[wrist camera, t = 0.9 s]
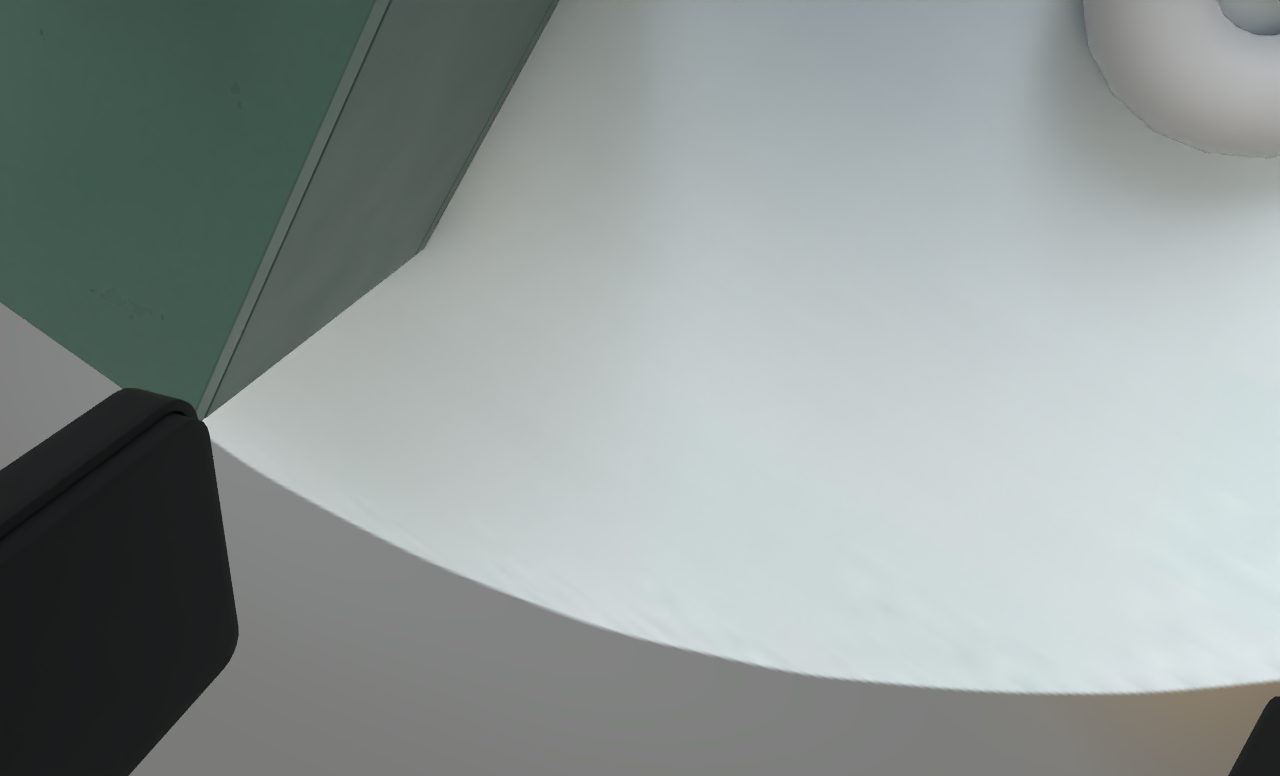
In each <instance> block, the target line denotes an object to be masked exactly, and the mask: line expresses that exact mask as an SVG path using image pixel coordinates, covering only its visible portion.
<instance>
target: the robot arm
mask: <svg viewBox="0 0 1280 776" xmlns="http://www.w3.org/2000/svg"><path fill="white" fill-rule="evenodd" d="M238 635H239V634H238V621H237V615H236V608H235V601H234V595H233V588H232V582H231V575H230V568H229V562H228V555H227V548H226V542H225V535H224V528H223V522H222V515H221V509H220V501H219V495H218V488H217V482H216V475H215V469H214V461H213V456H212V448H211V441H210V435H209V432H208V428H207V426H206V425H205V424H204V422H202V421H200V420H198V417H197V413H196V410H195V409H194V408H193V407H192V405H191V404H190V403H188V402H186V401H184V400H182V399H178V398H174V397H170V396H166V395H162V394H158V393H154V392H150V391H146V390H142V389H138V388H124V389H122V390H120V391H117V392H116V393H114V394H112V395H111V396H109V397H108V398H106V399H105V400H103V401H102V402H101V403H99V404H98V405H96V406H95V407H93V408H92V409H90V410H89V411H87V412H86V413H84V414H83V415H81V416H80V417H78V418H77V419H75V420H74V421H73V422H71V423H70V424H68V425H67V426H65V427H64V428H62V429H61V430H60V431H58V432H56V433H55V434H53V435H52V436H51V437H49V438H48V439H46V440H45V441H43V442H42V443H40V444H39V445H37V446H36V447H34V448H33V449H31V450H30V451H28V452H27V453H26V454H24V455H23V456H21V457H20V458H19V459H17V460H15V461H14V462H12V463H11V464H9V465H8V466H7V467H5V468H3V469H2V470H1V471H0V776H129V775H130V773H131V772H132V771H133V770H134V769H135V768H136V767H137V765H138V764H139V763H140V762H141V761H142V760H143V759H144V758H145V757H146V755H147V754H148V753H149V752H150V751H151V750H152V749H153V748H154V746H155V745H156V744H157V743H158V742H159V741H160V740H161V739H162V738H163V736H164V735H165V734H166V733H167V732H168V731H169V729H171V727H172V726H173V725H174V724H175V723H176V722H177V721H178V720H179V718H180V717H181V716H182V715H183V714H184V713H185V712H186V711H187V709H188V708H189V707H190V706H191V705H192V704H193V703H194V702H195V700H196V699H197V698H198V697H199V696H200V695H201V694H202V693H203V691H204V690H205V689H206V688H207V687H208V686H209V685H210V683H211V682H212V681H213V680H214V679H215V678H216V677H217V676H218V675H219V674H220V672H221V671H222V670H223V669H224V668H225V666H226V665H227V663H228V662H229V661H230V659H231V657H232V655H233V653H234V650H235V647H236V645H237V640H238ZM1228 776H1280V697H1274V698H1273V699H1271V700H1270V701H1269V702H1268V704H1267V705H1266V707H1265V708H1264V710H1263V712H1262V714H1261V716H1260V718H1259V719H1258V721H1257V723H1256V725H1255V727H1254V729H1253V731H1252V732H1251V735H1250V736H1249V738H1248V740H1247V742H1246V744H1245V746H1244V747H1243V749H1242V751H1241V753H1240V755H1239V757H1238V759H1237V760H1236V762H1235V764H1234V766H1233V768H1232V770H1231V772H1230V774H1229V775H1228Z"/></svg>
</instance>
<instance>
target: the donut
mask: <svg viewBox="0 0 1280 776" xmlns="http://www.w3.org/2000/svg"><path fill="white" fill-rule="evenodd" d="M1083 7H1084V15H1085V23H1086V31H1087V39H1088V47H1089V49H1090V51H1091V53H1092V55H1093V57H1094V59H1095V61H1096V63H1097V65H1098V67H1099V69H1100V71H1101V72H1102V74H1103V76H1104V78H1105V80H1106V82H1107V84H1108V86H1109V88H1110V90H1111V92H1112V94H1113V95H1114V96H1115V97H1116V98H1117V99H1118V100H1120V101H1121V102H1122V103H1123V104H1124V105H1125V106H1126V107H1127V108H1128V109H1130V110H1131V111H1132V112H1133V113H1134V114H1135V115H1136V116H1137V117H1138V118H1140V119H1141V120H1142V121H1143V122H1144V123H1145V124H1146V125H1147V126H1148V127H1150V128H1151V129H1152V130H1153V131H1155V132H1157V133H1160V134H1162V135H1164V136H1167V137H1169V138H1172V139H1174V140H1176V141H1179V142H1181V143H1184V144H1186V145H1189V146H1191V147H1193V148H1196V149H1198V150H1201V151H1203V152H1205V153H1210V154H1222V155H1233V156H1245V157H1256V158H1272V157H1277V156H1280V34H1278V35H1273V36H1270V35H1255V34H1253V33H1250V32H1248V31H1245V30H1243V29H1240V28H1238V27H1237V26H1235V25H1234V24H1233V23H1232V22H1231V21H1230V20H1229V19H1228V18H1227V17H1226V16H1225V15H1224V14H1223V12H1222V10H1221V8H1220V6H1219V4H1218V1H1217V0H1083Z"/></svg>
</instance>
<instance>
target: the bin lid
mask: <svg viewBox="0 0 1280 776" xmlns="http://www.w3.org/2000/svg"><path fill="white" fill-rule="evenodd" d="M389 1H390V0H0V302H1V303H2V304H4V305H5V306H6V307H8V308H9V309H11V310H12V311H13V312H15V313H16V314H18V315H19V316H21V317H22V318H23V319H25V320H26V321H28V322H29V323H30V324H32V325H33V326H35V327H36V328H38V329H39V330H40V331H42V332H43V333H45V334H46V335H47V336H49V337H50V338H52V339H53V340H55V341H56V342H58V343H59V344H60V345H62V346H63V347H65V348H66V349H68V350H69V351H70V352H72V353H73V354H74V355H76V356H77V357H79V358H80V359H81V360H83V361H84V362H86V363H87V364H89V365H90V366H91V367H93V368H94V369H96V370H97V371H98V372H100V373H101V374H103V375H104V376H106V377H107V378H108V379H110V380H111V381H113V382H114V383H115V384H117V385H118V386H120V387H121V388H123V389H124V388H138V389H142V390H146V391H150V392H154V393H158V394H162V395H166V396H170V397H174V398H178V399H182V400H184V401H186V402H188V403H190V404H191V405H192V407H193V408H194V409H195V410H196V413H197V417H198V420H200V421H202V420H203V419H204V416H205V414H206V412H207V410H208V407H209V405H210V403H211V401H212V399H213V396H214V394H215V392H216V390H217V387H218V385H219V383H220V381H221V378H222V376H223V374H224V372H225V369H226V367H227V365H228V363H229V360H230V358H231V356H232V354H233V351H234V349H235V347H236V345H237V342H238V340H239V338H240V336H241V333H242V331H243V329H244V327H245V324H246V322H247V320H248V318H249V315H250V313H251V311H252V309H253V306H254V304H255V302H256V300H257V297H258V295H259V293H260V291H261V288H262V286H263V284H264V282H265V279H266V277H267V275H268V273H269V270H270V268H271V266H272V264H273V262H274V259H275V257H276V255H277V253H278V250H279V248H280V246H281V244H282V241H283V239H284V237H285V235H286V232H287V230H288V228H289V226H290V223H291V221H292V219H293V217H294V214H295V212H296V210H297V208H298V205H299V203H300V201H301V199H302V196H303V194H304V192H305V190H306V187H307V185H308V183H309V181H310V178H311V176H312V174H313V172H314V169H315V167H316V165H317V163H318V160H319V158H320V156H321V154H322V151H323V149H324V147H325V145H326V142H327V140H328V138H329V136H330V133H331V131H332V129H333V127H334V124H335V122H336V120H337V118H338V116H339V113H340V111H341V109H342V107H343V104H344V102H345V100H346V98H347V95H348V93H349V91H350V89H351V86H352V84H353V82H354V80H355V77H356V75H357V73H358V71H359V68H360V66H361V64H362V62H363V59H364V57H365V55H366V53H367V50H368V48H369V46H370V44H371V41H372V39H373V37H374V35H375V32H376V30H377V28H378V26H379V23H380V21H381V19H382V17H383V14H384V12H385V10H386V8H387V5H388V3H389Z"/></svg>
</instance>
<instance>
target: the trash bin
mask: <svg viewBox="0 0 1280 776" xmlns="http://www.w3.org/2000/svg"><path fill="white" fill-rule="evenodd" d="M558 1H559V0H390V1H389V3H388V5H387V8H386V10H385V12H384V14H383V17H382V19H381V21H380V23H379V26H378V28H377V30H376V32H375V35H374V37H373V39H372V41H371V44H370V46H369V48H368V50H367V53H366V55H365V57H364V59H363V62H362V64H361V66H360V68H359V71H358V73H357V75H356V77H355V80H354V82H353V84H352V86H351V89H350V91H349V93H348V95H347V98H346V100H345V102H344V104H343V107H342V109H341V111H340V113H339V116H338V118H337V120H336V122H335V124H334V127H333V129H332V131H331V133H330V136H329V138H328V140H327V142H326V145H325V147H324V149H323V151H322V154H321V156H320V158H319V160H318V163H317V165H316V167H315V169H314V172H313V174H312V176H311V178H310V181H309V183H308V185H307V187H306V190H305V192H304V194H303V196H302V199H301V201H300V203H299V205H298V208H297V210H296V212H295V214H294V217H293V219H292V221H291V223H290V226H289V228H288V230H287V232H286V235H285V237H284V239H283V241H282V244H281V246H280V248H279V250H278V253H277V255H276V257H275V259H274V262H273V264H272V266H271V268H270V270H269V273H268V275H267V277H266V279H265V282H264V284H263V286H262V288H261V291H260V293H259V295H258V297H257V300H256V302H255V304H254V306H253V309H252V311H251V313H250V315H249V318H248V320H247V322H246V324H245V327H244V329H243V331H242V333H241V336H240V338H239V340H238V342H237V345H236V347H235V349H234V351H233V354H232V356H231V358H230V360H229V363H228V365H227V367H226V369H225V372H224V374H223V376H222V378H221V381H220V383H219V385H218V387H217V390H216V392H215V394H214V396H213V399H212V401H211V403H210V405H209V407H208V410H207V412H206V414H205V416H204V418H206V417H208V416H209V415H210V414H212V413H213V412H214V411H215V410H217V409H218V408H219V407H221V406H222V405H223V404H224V403H226V402H227V401H228V400H230V399H231V398H232V397H233V396H235V395H236V394H237V393H239V392H240V391H241V390H242V389H244V388H245V387H246V386H248V385H249V384H250V383H251V382H253V381H254V380H255V379H257V378H258V377H259V376H261V375H262V374H263V373H264V372H266V371H267V370H268V369H270V368H271V367H272V366H273V365H275V364H276V363H277V362H279V361H280V360H281V359H282V358H284V357H285V356H286V355H288V354H289V353H290V352H291V351H293V350H294V349H295V348H297V347H298V346H299V345H300V344H302V343H303V342H304V341H306V340H307V339H308V338H309V337H311V336H312V335H313V334H315V333H316V332H317V331H319V330H320V329H321V328H322V327H324V326H325V325H326V324H328V323H329V322H330V321H331V320H333V319H334V318H335V317H337V316H338V315H339V314H340V313H342V312H343V311H344V310H346V309H347V308H348V307H349V306H351V305H352V304H353V303H355V302H356V301H357V300H358V299H360V298H361V297H362V296H364V295H365V294H366V293H367V292H369V291H370V290H371V289H373V288H374V287H375V286H376V285H378V284H379V283H380V282H382V281H383V280H384V279H386V278H387V277H388V276H389V275H391V274H392V273H393V272H395V271H396V270H397V269H398V268H400V267H401V266H402V265H404V264H405V263H406V262H407V261H409V260H410V259H411V258H413V257H414V256H415V255H416V254H418V253H419V252H420V251H421V250H423V249H424V247H425V245H426V244H427V242H428V240H429V238H430V236H431V234H432V233H433V231H434V229H435V227H436V225H437V223H438V222H439V220H440V218H441V216H442V214H443V212H444V211H445V209H446V207H447V205H448V203H449V201H450V200H451V198H452V196H453V194H454V192H455V190H456V189H457V187H458V185H459V183H460V181H461V179H462V178H463V176H464V174H465V172H466V170H467V168H468V167H469V165H470V163H471V161H472V159H473V157H474V156H475V154H476V152H477V150H478V148H479V146H480V145H481V143H482V141H483V139H484V137H485V135H486V134H487V132H488V130H489V128H490V126H491V124H492V123H493V121H494V119H495V117H496V115H497V113H498V112H499V110H500V108H501V106H502V104H503V102H504V101H505V99H506V97H507V95H508V93H509V91H510V90H511V88H512V86H513V84H514V82H515V80H516V79H517V77H518V75H519V73H520V71H521V69H522V68H523V66H524V64H525V62H526V60H527V58H528V57H529V55H530V53H531V51H532V49H533V47H534V46H535V44H536V42H537V40H538V38H539V36H540V34H541V33H542V31H543V29H544V27H545V25H546V23H547V22H548V20H549V18H550V16H551V14H552V12H553V11H554V9H555V7H556V5H557V3H558Z"/></svg>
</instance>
